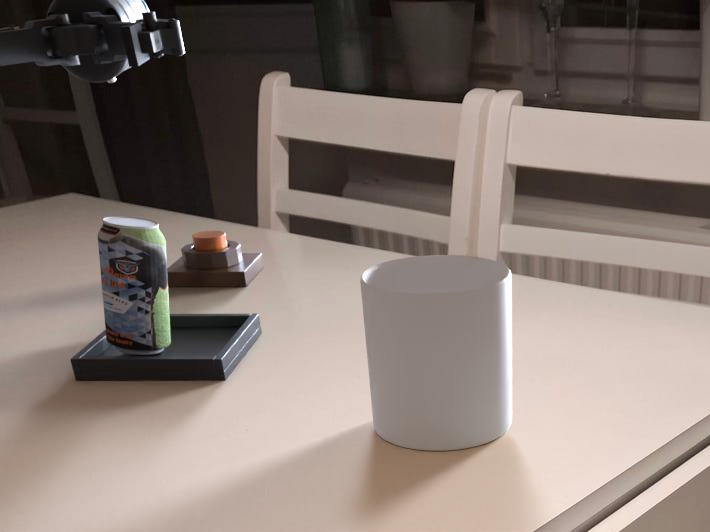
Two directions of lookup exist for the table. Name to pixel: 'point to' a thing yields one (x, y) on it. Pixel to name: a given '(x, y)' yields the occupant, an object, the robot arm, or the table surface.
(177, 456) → the table surface
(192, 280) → the block
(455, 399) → the white cylinder
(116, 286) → the beverage can
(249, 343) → the tray
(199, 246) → the button
